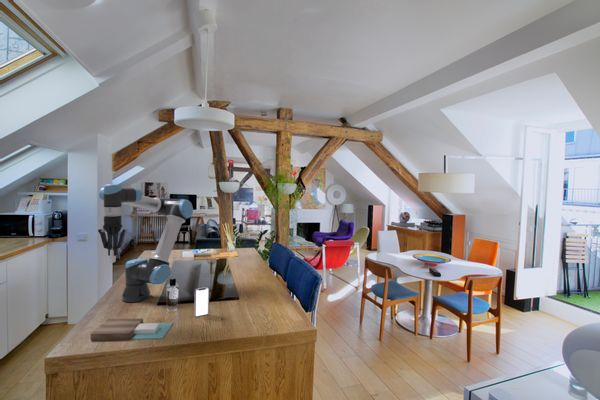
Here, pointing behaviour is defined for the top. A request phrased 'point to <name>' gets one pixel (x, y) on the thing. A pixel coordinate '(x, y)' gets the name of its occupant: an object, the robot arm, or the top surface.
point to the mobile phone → (201, 302)
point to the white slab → (146, 328)
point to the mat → (158, 334)
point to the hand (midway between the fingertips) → (112, 262)
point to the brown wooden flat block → (116, 329)
